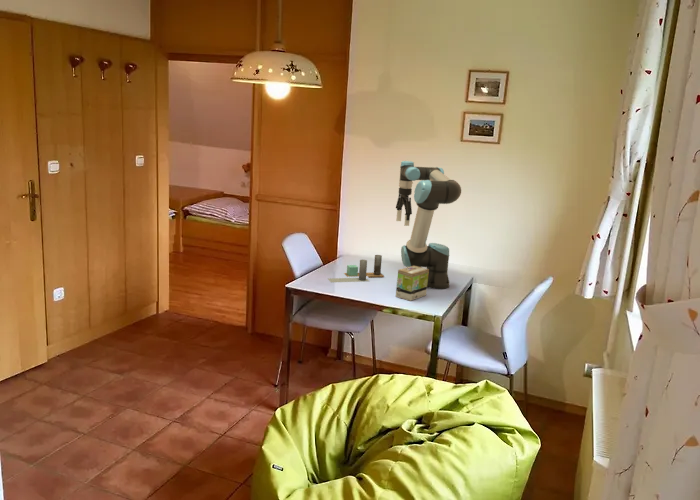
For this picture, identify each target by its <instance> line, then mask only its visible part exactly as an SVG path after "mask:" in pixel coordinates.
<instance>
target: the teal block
mask: <svg viewBox="0 0 700 500" xmlns="http://www.w3.org/2000/svg"><path fill="white" fill-rule="evenodd" d="M346 273H347V274H348V275H349V276H357V277H359V276H358V273H359V266H357V265H356V264H347V266H346Z"/></svg>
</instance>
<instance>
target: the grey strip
mask: <svg viewBox="0 0 700 500" xmlns="http://www.w3.org/2000/svg"><path fill="white" fill-rule="evenodd" d="M367 268H368V260H367V259H360V260H359V267H358V273H359V276H358V277H342V278H341V277H339V278H338V277H337V278H336V277H332V278H331V277H330V278H327V280H328V281H329V282H330V283H357V282H361V283H362V282H370V280H369V279H368V278H367V276H366V273H367Z"/></svg>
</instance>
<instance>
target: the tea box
mask: <svg viewBox="0 0 700 500" xmlns="http://www.w3.org/2000/svg"><path fill="white" fill-rule="evenodd" d="M428 275H429V269H427V268H426V267H418V266H411V267H405V268H404V267H403V268H400V269H398V270H397V278H396V280H397V281H396V287H395V289H396V290H395V297H396V298H400V299H403V300H406V301H410V302H412V301H414V300H416V299H419V298H422V297H425V296H427V292H428V287H427V283H428Z"/></svg>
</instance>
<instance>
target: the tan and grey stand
mask: <svg viewBox="0 0 700 500" xmlns="http://www.w3.org/2000/svg"><path fill="white" fill-rule="evenodd" d="M382 259H383V255H381V254H374V264H373V271H372V272H366V277H367V278H369V279H375V278H376V279H378V278H379V279H380V278H384V277H385V276H384V274H383V273H382ZM343 274H344V275H345V276H346V278H358V277H359V272H358V276H349V275H348V274H347V272H344V273H343Z"/></svg>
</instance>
